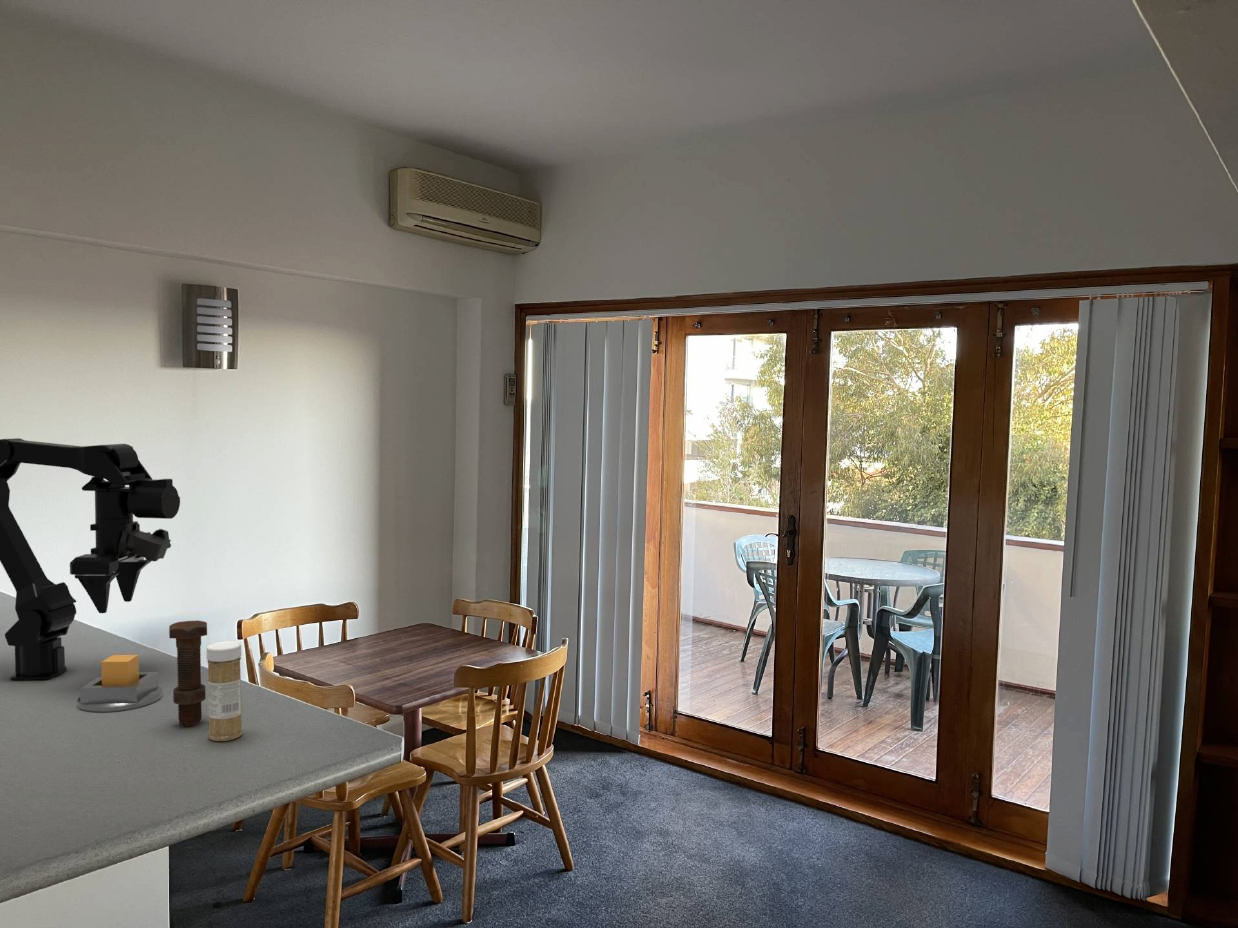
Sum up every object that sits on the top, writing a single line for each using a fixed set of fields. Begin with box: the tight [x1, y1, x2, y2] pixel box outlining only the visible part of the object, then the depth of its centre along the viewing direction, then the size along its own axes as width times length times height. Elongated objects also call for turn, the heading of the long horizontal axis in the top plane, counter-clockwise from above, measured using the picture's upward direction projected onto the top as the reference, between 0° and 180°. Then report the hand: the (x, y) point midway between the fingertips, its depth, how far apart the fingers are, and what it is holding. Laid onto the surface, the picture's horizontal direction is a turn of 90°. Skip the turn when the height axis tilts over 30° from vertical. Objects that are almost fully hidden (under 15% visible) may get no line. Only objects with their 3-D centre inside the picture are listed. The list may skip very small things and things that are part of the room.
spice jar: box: [206, 640, 243, 742], centre depth 132 cm, size 5×5×13 cm
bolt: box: [168, 620, 208, 728], centre depth 137 cm, size 6×5×15 cm
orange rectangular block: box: [100, 654, 140, 686], centre depth 148 cm, size 4×4×6 cm
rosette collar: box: [76, 671, 163, 713], centre depth 148 cm, size 12×12×3 cm
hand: (115, 607), depth 160 cm, fingers open, 9 cm apart
